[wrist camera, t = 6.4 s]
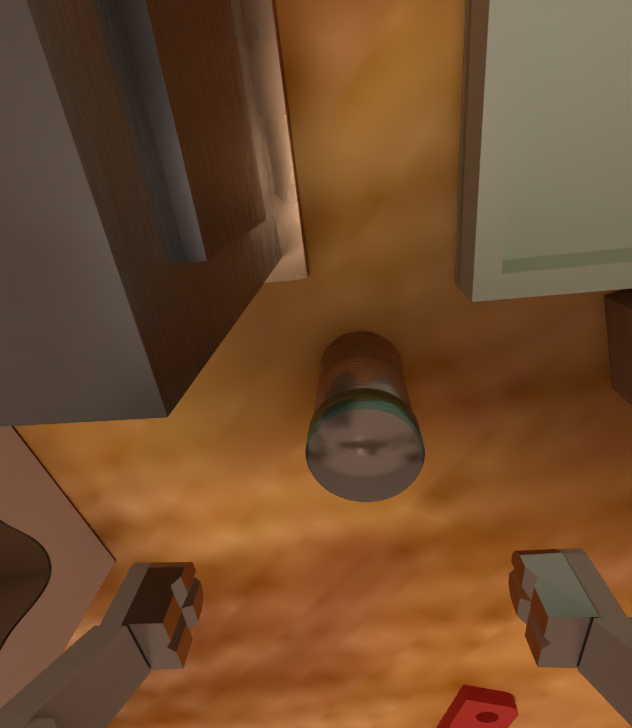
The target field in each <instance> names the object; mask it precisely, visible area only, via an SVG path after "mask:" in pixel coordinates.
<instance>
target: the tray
mask: <svg viewBox="0 0 632 728" xmlns="http://www.w3.org/2000/svg"><path fill="white" fill-rule="evenodd" d="M455 283H456V284H457V285H458V286H459V287H460V289H461V290H462V291H463V292H464V293H465V294H466V296H467V297H468V298H469V299H470V300H471V301H472V302H479V301H490V300H502V299H514V298H525V297H537V296H549V295H561V294H572V293H584V292H596V291H608V290H619V289H631V288H632V0H466V11H465V38H464V64H463V90H462V116H461V143H460V169H459V195H458V222H457V248H456V274H455Z"/></svg>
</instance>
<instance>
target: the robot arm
mask: <svg viewBox="0 0 632 728" xmlns="http://www.w3.org/2000/svg"><path fill="white" fill-rule="evenodd" d="M511 562H512V564H513V566H514V570H513V571H512V572H510V573H509V590H510V596H511V600H512V603H513V606H514V609H515V611H516V614H517V616H518V617H519V618H520V619H521V620H523V621H524V622H525V623H526V624H527V626H526V632H525V637H526V639H527V642H528V644H529V647H530V649H531V652H532V654H533V657H534V659H535V662H536V664H537V667H556V668H578V671H579V672H580V673H581V674H582V675H583V676H584V677H585V678H586V679H587V680H588V681H589V682H590V683H591V685H592V686H593V687H594V688H595V689H596V690H597V691H598V692H599V693H600V694H601V695H602V696H603V697H604V698H605V699H606V700H607V701H608V702H609V703H610V704H611V705H612V706H613V707H614V709H615V710H616V711H617V712H618V713H619V714H620V715H621V716H622V717H623V718H624V719H625V720H626V721H627V722H628V723H629V724H630V725H631V726H632V618H630V617H627V616H626V614H625V613H624V611H623V610H622V608H621V606H620V605H619V603H618V602H617V600H616V599H615V597H614V596H613V594H612V592H611V591H610V589H609V588H608V586H607V585H606V583H605V582H604V580H603V579H602V577H601V575H600V574H599V572H598V571H597V569H596V568H595V566H594V565H593V563H592V561H591V560H590V558H589V557H588V555H587V554H586V552H584V551H583V550H582V549H559V550H557V549H543V550H522V551H514V552H513V554H512V559H511ZM195 572H196V569H195V567H194V564H193V562H145V563H135V564H134V565H133V566H132V567H131V568H130V569H129V571H128V573H127V575H126V577H125V579H124V581H123V583H122V585H121V586H120V588H119V590H118V592H117V594H116V596H115V598H114V600H113V602H112V603H111V605H110V607H109V609H108V611H107V613H106V615H105V617H104V619H103V620H102V622H101V624H100V626H94V627H92V628H91V629H90V630H89V631H88V632H87V633H86V634H84V635H83V636H82V637H81V638H80V639H79V640H78V641H76V642H75V643H74V644H73V645H72V646H71V647H70V648H68V649H67V650H66V651H65V652H64V653H63V654H62V655H60V656H59V657H58V658H57V659H56V660H55V661H54V662H53V663H51V664H50V665H49V666H48V667H47V668H46V669H45V670H43V671H42V672H41V673H40V674H39V675H38V676H37V677H35V678H34V679H33V680H32V681H31V682H30V683H29V684H27V685H26V686H25V687H24V688H23V689H22V690H21V691H19V692H18V693H17V694H16V695H15V696H14V697H13V698H11V699H10V700H9V701H8V702H7V703H6V704H5V705H3V706H2V707H1V708H0V728H106V727H107V726H108V724H109V723H110V722H111V721H112V719H113V718H114V717H115V716H116V714H117V713H118V712H119V711H120V709H121V708H122V707H123V706H124V704H125V703H126V702H127V701H128V699H129V698H130V697H131V696H132V694H133V693H134V692H135V691H136V690H137V688H138V687H139V686H140V685H141V683H142V682H143V681H144V680H145V678H146V677H147V676H148V675H149V673H150V672H151V671H150V670H151V669H179V668H184V665H185V662H186V659H187V656H188V653H189V650H190V646H191V643H192V640H193V639H192V635H191V632H190V629H191V628H192V627H193V626H194V625H195V624H196V623H197V622H198V621H199V617H200V614H201V611H202V604H203V588H202V585H201V582H200V581H199V580H197V579H196V578H195V577H194V575H195Z"/></svg>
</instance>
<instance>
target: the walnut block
mask: <svg viewBox="0 0 632 728" xmlns="http://www.w3.org/2000/svg"><path fill="white" fill-rule="evenodd" d="M604 301H605V312H606V323H607V334H608V345H609V356H610V367H611V378H612V388H613V389H614V390H615V391H617V392H618V393H619V394H620V395H621V396H622V397H624V398H625V399H626V400H627V401H628V402H629V403H630V404H632V288H631V289H624V290H621V291H617V292H614V293H611V294H608V295H604Z"/></svg>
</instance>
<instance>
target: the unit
mask: <svg viewBox="0 0 632 728" xmlns="http://www.w3.org/2000/svg"><path fill="white" fill-rule="evenodd" d="M308 276H309V269H308V261H307V253H306V245H305V237H304V229H303V222H302V214H301V206H300V198H299V190H298V182H297V174H296V166H295V158H294V150H293V142H292V134H291V127H290V119H289V111H288V103H287V95H286V87H285V79H284V71H283V63H282V55H281V47H280V39H279V31H278V24H277V16H276V8H275V0H0V427H2V426H20V425H38V424H56V423H74V422H92V421H109V420H127V419H145V418H163V417H168V416H169V415H170V413H171V412H172V410H173V409H174V408H175V406H176V405H177V404H178V402H179V401H180V399H181V398H182V397H183V395H184V394H185V392H186V391H187V390H188V388H189V387H190V385H191V384H192V383H193V381H194V380H195V378H196V377H197V376H198V374H199V373H200V371H201V370H202V369H203V367H204V366H205V365H206V363H207V362H208V360H209V359H210V358H211V356H212V355H213V353H214V352H215V351H216V349H217V348H218V346H219V345H220V344H221V342H222V341H223V339H224V338H225V337H226V335H227V334H228V332H229V331H230V330H231V328H232V327H233V326H234V324H235V323H236V321H237V320H238V319H239V317H240V316H241V314H242V313H243V312H244V310H245V309H246V307H247V306H248V305H249V303H250V302H251V300H252V299H253V298H254V296H255V295H256V294H257V292H258V291H259V289H260V288H261V287H262V285H263V284H264V283H272V282H282V281H293V280H303V279H308Z"/></svg>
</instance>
